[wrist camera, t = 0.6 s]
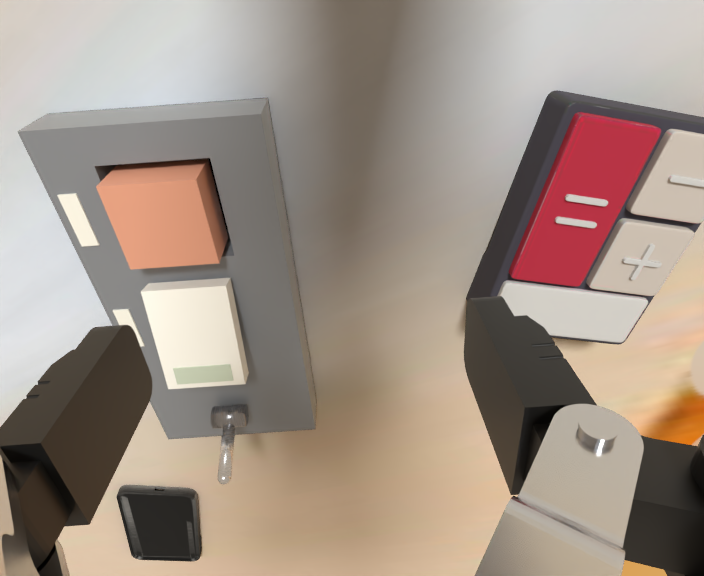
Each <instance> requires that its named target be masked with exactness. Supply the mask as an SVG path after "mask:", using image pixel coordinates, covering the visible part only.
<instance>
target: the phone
mask: <svg viewBox="0 0 704 576" xmlns="http://www.w3.org/2000/svg"><path fill="white" fill-rule="evenodd" d="M155 488H158V489H165V491H157V490H155ZM178 490H179V491H178ZM117 500H118V504H119V508H120V512H121V516H122V520H123V524H124V527H125V531H126V535H127V539H128V543H129V547H130V551H131V555H132V556H133V557H134V558H136V559H140V560H164V561H196V560H198V559H199V558H200V554H201V536H200V524H199V508H198V494H197V492H196V491H195V490H193V489H190V488H180V487H160V486H141V485H124V486H122V487H121V488H120V489H119V492H118V494H117Z"/></svg>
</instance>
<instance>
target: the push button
mask: <svg viewBox="0 0 704 576" xmlns="http://www.w3.org/2000/svg"><path fill="white" fill-rule="evenodd" d="M96 188H97V191H98V193H99V195H100V198H101V200H102V203H103V205H104V207H105V210H106V212H107V215H108V217H109V219H110V222H111V224H112V226H113V229H114V231H115V234H116V236H117V238H118V241H119V243H120V246H121V248H122V250H123V253H124V255H125V257H126V260H127V262H128V265H129V267H130V269H131V270H132V269H146V268H161V267H175V266H189V265H203V264H218V263H220V260H221V257H222V254H223V251H224V248H225V246H226V243H227V240H228V235H227V231H226V227H225V223H224V220H223V216H222V212H221V208H220V204H219V200H218V196H217V192H216V188H215V184H214V180H213V176H212V172H211V168H210V164H209V160H208V159H196V160H182V161H168V162H154V163H140V164H126V165H116V166H115V168H114V169H113V170H112V171H111V172H110V173H109V174H108V175H107V176H106V177H105V178H104V179H103V180H102V181H101V182H100V183H99V184H98V185H97V186H96Z"/></svg>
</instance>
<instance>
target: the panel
mask: <svg viewBox="0 0 704 576" xmlns="http://www.w3.org/2000/svg"><path fill="white" fill-rule="evenodd" d="M18 133H19V136H20V138H21V140H22V142H23V144H24V146H25V148H26V150H27V152H28V154H29V156H30V158H31V160H32V162H33V164H34V166H35V168H36V170H37V172H38V174H39V176H40V178H41V180H42V182H43V184H44V186H45V189H46V191H47V193H48V195H49V197H50V199H51V201H52V203H53V205H54V207H55V209H56V211H57V213H58V215H59V217H60V219H61V221H62V223H63V225H64V227H65V229H66V231H67V233H68V235H69V237H70V239H71V242H72V244H73V246H74V248H75V250H76V252H77V254H78V256H79V258H80V260H81V262H82V264H83V266H84V268H85V270H86V272H87V274H88V276H89V278H90V280H91V282H92V284H93V286H94V288H95V290H96V292H97V295H98V297H99V299H100V301H101V303H102V305H103V307H104V309H105V311H106V313H107V315H108V317H109V319H110V321H111V323H112V325H113V326H117V325H129V326H131V327H132V328H133V330H134V332H135V334H136V337H137V339H138V342H139V344H140V347H141V350H142V352H143V355H144V357H145V360H146V363H147V365H148V368H149V370H150V373H151V377H152V395H151V399H150V403H151V405H152V407H153V409H154V411H155V413H156V415H157V417H158V419H159V421H160V423H161V425H162V427H163V429H164V431H165V433H166V435H167V437H168V439H179V438H194V437H209V436H222V430H223V428H216V429H213V428H212V425H211V411H212V408H213V407H214V406H229V405H244V404H246V405H247V407H248V414H249V418H248V424H247V426H245V427H235V435H238V434H253V433H268V432H282V431H297V430H312V429H315V427H316V395H315V389H314V382H313V376H312V370H311V364H310V357H309V351H308V345H307V339H306V333H305V326H304V320H303V314H302V308H301V301H300V295H299V289H298V283H297V277H296V270H295V264H294V258H293V252H292V245H291V239H290V233H289V227H288V221H287V214H286V208H285V202H284V196H283V189H282V183H281V177H280V171H279V165H278V158H277V152H276V146H275V140H274V134H273V127H272V121H271V115H270V109H269V102H268V98H257V99H243V100H230V101H216V102H202V103H188V104H174V105H160V106H146V107H133V108H119V109H105V110H91V111H77V112H63V113H49V114H46V115H44V116H43V117H41V118H39V119H38V120H36V121H34V122H33V123H31V124H29V125H28V126H26V127H24V128H23V129H21V130H19V131H18ZM202 158H210V160H211V164H212V168H213V172H214V176H215V180H216V184H217V188H218V192H219V196H220V200H221V204H222V208H223V212H224V216H225V220H226V224H227V228H228V232H227V235H228V240H227V243H226V246H225V248H224V251H223V254H222V257H221V260H220V263H218V264H203V265H189V266H175V267H161V268H146V269H132V270H131V269H130V267H129V265H128V262H127V260H126V257H125V255H124V253H123V250H122V248H121V246H120V243H119V241H118V238H117V236H116V234H115V231H114V229H113V226H112V224H111V222H110V219H109V217H108V215H107V212H106V210H105V207H104V205H103V203H102V200H101V198H100V195H99V193H98V191H97V188H96V186H97V185H98V184H99V183H100V182H101V181H102V180H103V179H104V178H105V177H106V176H107V175H108V174H109V173H110V172H111V171H112V170H113V169H114V168H115V166H116V165H123V164H132V163H146V162H160V161H174V160H188V159H202ZM218 278H231V283H232V289H233V294H234V299H235V304H236V310H237V315H238V320H239V325H240V330H241V336H242V341H243V346H244V351H245V357H246V362H247V367H248V372H249V374H248V377H247V380H246V384H240V385H225V386H211V387H196V388H182V389H168V386H167V383H166V379H165V376H164V372H163V369H162V365H161V362H160V358H159V355H158V351H157V348H156V344H155V340H154V337H153V333H152V330H151V326H150V323H149V319H148V316H147V312H146V309H145V305H144V302H143V298H142V295H141V291H142V290H143V289H144V288H145V286H146V285H147V284H148V283H160V282H175V281H189V280H203V279H218Z"/></svg>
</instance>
